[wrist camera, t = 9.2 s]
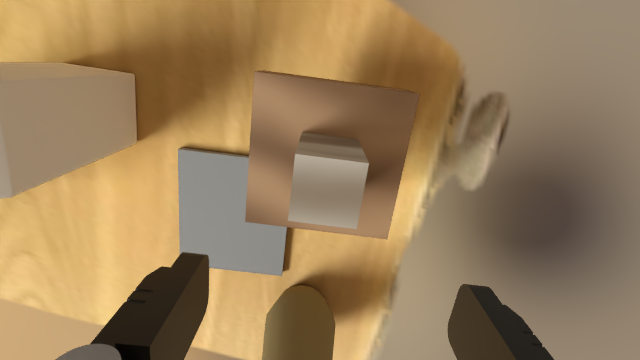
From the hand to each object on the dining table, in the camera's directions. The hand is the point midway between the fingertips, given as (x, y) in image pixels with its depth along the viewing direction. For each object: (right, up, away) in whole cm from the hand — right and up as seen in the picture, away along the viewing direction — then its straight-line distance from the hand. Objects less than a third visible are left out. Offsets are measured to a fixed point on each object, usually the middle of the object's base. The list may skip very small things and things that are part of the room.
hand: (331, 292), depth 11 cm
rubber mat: (-10, 0, +27) cm, 29 cm away
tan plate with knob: (0, +6, +17) cm, 18 cm away
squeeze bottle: (-3, -12, +31) cm, 34 cm away
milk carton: (-23, +11, +24) cm, 34 cm away
